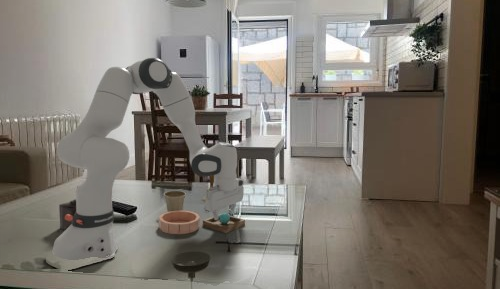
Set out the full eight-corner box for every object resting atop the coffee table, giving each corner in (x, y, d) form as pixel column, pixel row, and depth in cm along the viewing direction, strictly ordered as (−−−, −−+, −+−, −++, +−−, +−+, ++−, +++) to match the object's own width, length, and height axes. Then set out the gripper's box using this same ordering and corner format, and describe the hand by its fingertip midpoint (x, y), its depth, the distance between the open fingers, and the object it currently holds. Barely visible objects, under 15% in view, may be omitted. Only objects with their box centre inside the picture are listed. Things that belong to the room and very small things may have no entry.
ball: (224, 226, 166) (225, 215, 165) (215, 223, 168) (217, 212, 168) (231, 224, 169) (232, 213, 169) (222, 221, 172) (224, 210, 171)
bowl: (179, 237, 154) (179, 227, 154) (150, 227, 163) (150, 217, 163) (207, 226, 167) (207, 216, 166) (179, 217, 176) (179, 207, 175)
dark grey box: (57, 228, 159) (55, 182, 156) (83, 220, 168) (82, 177, 164) (81, 239, 150) (79, 190, 147) (107, 230, 159) (106, 184, 156)
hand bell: (219, 202, 197) (220, 169, 194) (201, 201, 197) (202, 168, 194) (220, 197, 205) (221, 165, 202) (203, 196, 205) (204, 164, 203)
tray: (226, 233, 160) (226, 228, 160) (202, 225, 167) (202, 220, 167) (244, 224, 170) (245, 219, 170) (222, 217, 177) (222, 213, 177)
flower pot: (164, 217, 175) (164, 197, 173) (162, 210, 184) (162, 191, 182) (187, 216, 177) (187, 196, 176) (184, 208, 186) (184, 190, 185)
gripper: (213, 190, 156) (213, 225, 158) (246, 180, 172) (245, 212, 174) (201, 186, 159) (200, 221, 162) (234, 177, 176) (233, 208, 178)
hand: (224, 216), depth 168 cm, fingers open, 8 cm apart
